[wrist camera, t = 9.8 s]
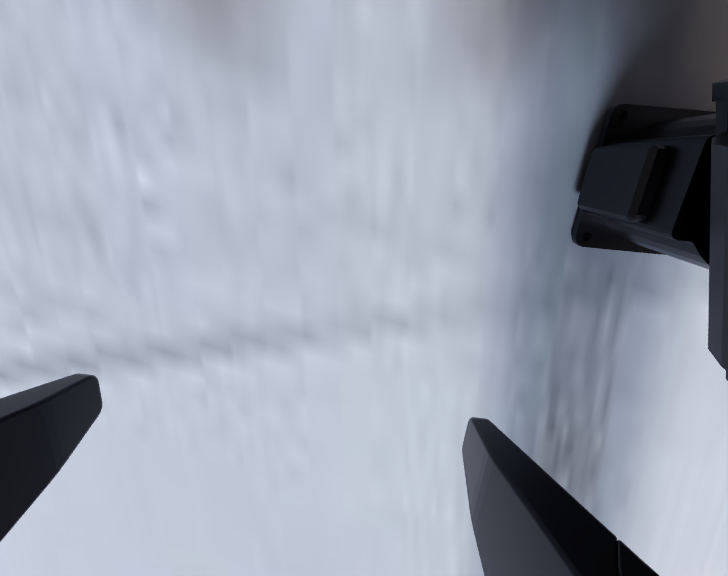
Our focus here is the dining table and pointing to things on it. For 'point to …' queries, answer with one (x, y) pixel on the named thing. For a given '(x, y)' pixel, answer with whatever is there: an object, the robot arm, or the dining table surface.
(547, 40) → the dining table surface
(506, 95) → the dining table surface
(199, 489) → the dining table surface
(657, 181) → the robot arm
